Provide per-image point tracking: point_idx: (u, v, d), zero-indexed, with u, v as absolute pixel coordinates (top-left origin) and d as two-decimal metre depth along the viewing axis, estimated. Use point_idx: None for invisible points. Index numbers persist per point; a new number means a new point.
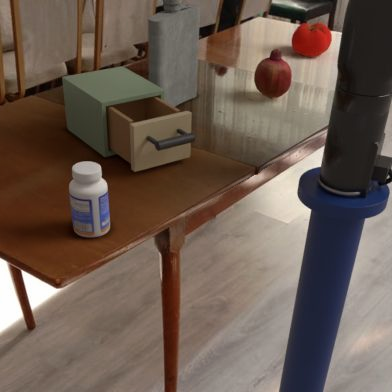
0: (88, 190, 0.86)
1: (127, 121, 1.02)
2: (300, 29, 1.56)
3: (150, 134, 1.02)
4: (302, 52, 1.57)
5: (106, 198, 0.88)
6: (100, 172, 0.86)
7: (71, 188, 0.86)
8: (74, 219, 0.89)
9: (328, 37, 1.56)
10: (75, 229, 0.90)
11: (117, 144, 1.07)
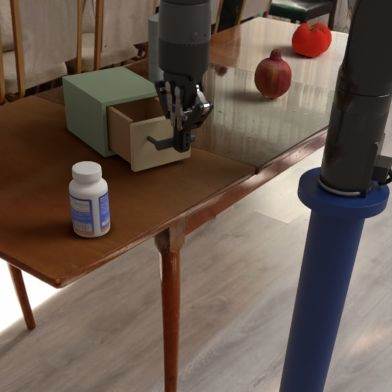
0: (88, 190, 0.86)
1: (127, 121, 1.02)
2: (300, 29, 1.56)
3: (150, 134, 1.02)
4: (302, 52, 1.57)
5: (106, 198, 0.88)
6: (100, 172, 0.86)
7: (71, 188, 0.86)
8: (74, 219, 0.89)
9: (328, 37, 1.56)
10: (75, 229, 0.90)
11: (117, 144, 1.08)
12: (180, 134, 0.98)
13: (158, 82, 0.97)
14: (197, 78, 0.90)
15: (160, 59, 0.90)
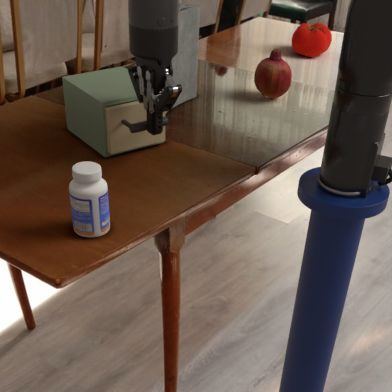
0: (88, 190, 0.86)
1: None
2: (300, 29, 1.56)
3: (125, 118, 1.07)
4: (302, 52, 1.57)
5: (106, 198, 0.88)
6: (100, 172, 0.86)
7: (71, 188, 0.86)
8: (74, 219, 0.89)
9: (328, 37, 1.56)
10: (75, 229, 0.90)
11: None
12: (152, 117, 1.03)
13: (131, 67, 1.02)
14: (166, 62, 0.95)
15: (131, 44, 0.95)
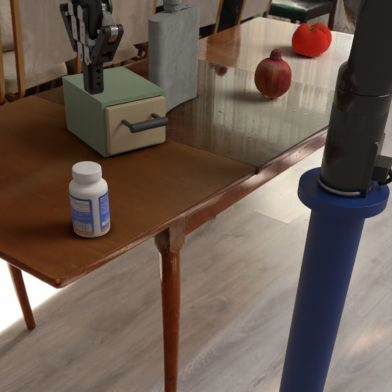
0: (88, 190, 0.86)
1: None
2: (300, 29, 1.56)
3: (125, 118, 1.07)
4: (302, 52, 1.57)
5: (106, 198, 0.88)
6: (100, 172, 0.86)
7: (71, 188, 0.86)
8: (74, 219, 0.89)
9: (328, 37, 1.56)
10: (75, 229, 0.90)
11: None
12: (89, 70, 0.79)
13: (63, 5, 0.79)
14: None
15: None
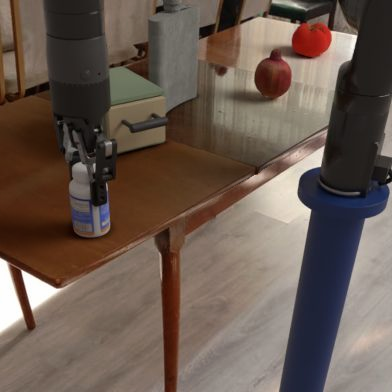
0: (87, 190, 0.86)
1: None
2: (300, 29, 1.56)
3: (125, 118, 1.07)
4: (302, 52, 1.57)
5: None
6: None
7: (71, 188, 0.86)
8: (74, 219, 0.89)
9: (328, 37, 1.56)
10: (75, 229, 0.90)
11: None
12: (93, 186, 0.84)
13: (57, 113, 0.85)
14: (94, 121, 0.78)
15: (52, 100, 0.78)
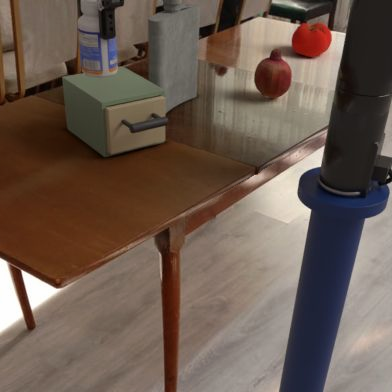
0: (96, 22, 0.87)
1: None
2: (300, 29, 1.56)
3: (125, 118, 1.07)
4: (302, 52, 1.57)
5: None
6: None
7: (79, 22, 0.88)
8: (83, 57, 0.91)
9: (328, 37, 1.56)
10: (84, 69, 0.92)
11: None
12: (102, 15, 0.86)
13: None
14: None
15: None
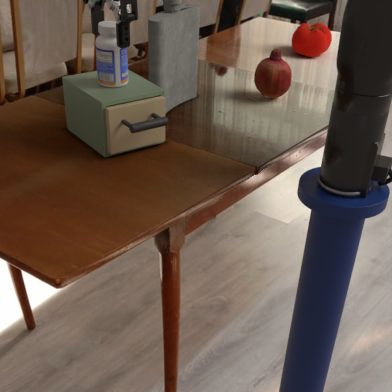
0: (111, 41, 1.05)
1: None
2: (300, 29, 1.56)
3: (125, 118, 1.07)
4: (302, 52, 1.57)
5: (125, 52, 1.07)
6: None
7: (97, 42, 1.05)
8: (99, 71, 1.08)
9: (328, 37, 1.56)
10: (100, 81, 1.10)
11: None
12: (119, 28, 1.02)
13: None
14: None
15: None
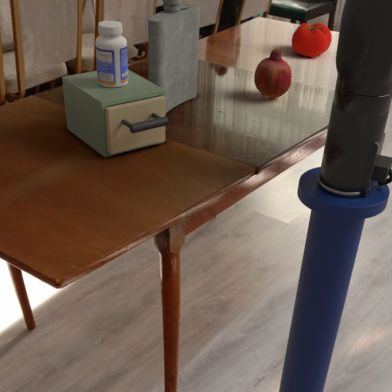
0: (111, 41, 1.05)
1: None
2: (300, 29, 1.56)
3: (125, 118, 1.07)
4: (302, 52, 1.57)
5: (125, 52, 1.07)
6: (121, 27, 1.05)
7: (97, 42, 1.05)
8: (99, 71, 1.08)
9: (328, 37, 1.56)
10: (100, 81, 1.10)
11: None
12: None
13: None
14: None
15: None
